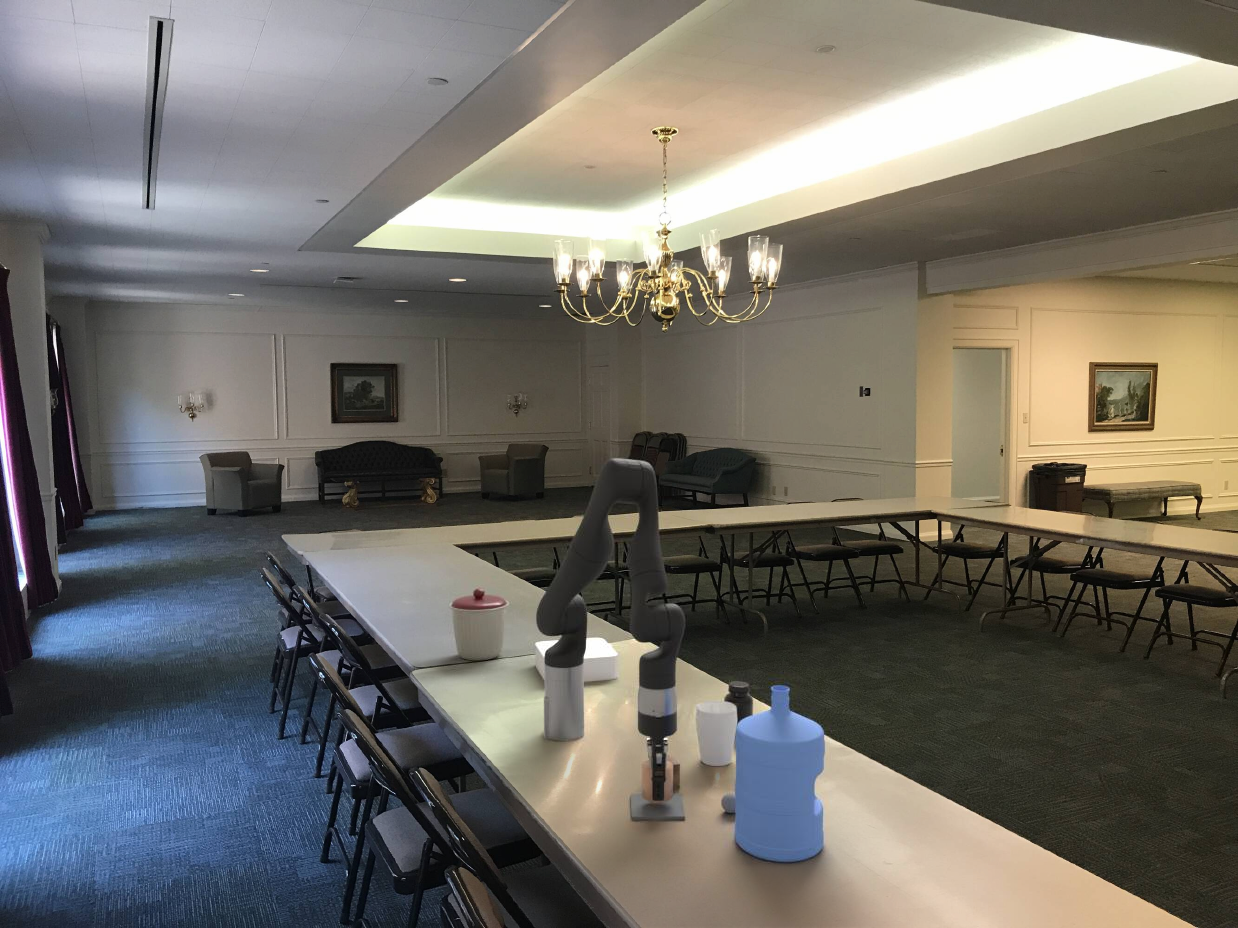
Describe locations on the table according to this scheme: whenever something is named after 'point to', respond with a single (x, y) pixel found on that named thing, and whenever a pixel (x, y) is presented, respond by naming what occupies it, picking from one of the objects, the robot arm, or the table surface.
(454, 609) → the canister
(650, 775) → the peach rounded capsule
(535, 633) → the table surface
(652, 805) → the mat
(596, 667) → the projector
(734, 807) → the grey ball
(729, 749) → the cup
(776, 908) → the table surface
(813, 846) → the water jug
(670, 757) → the walnut block
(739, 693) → the supplement bottle
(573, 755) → the table surface
